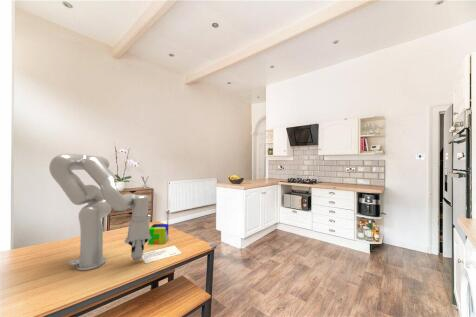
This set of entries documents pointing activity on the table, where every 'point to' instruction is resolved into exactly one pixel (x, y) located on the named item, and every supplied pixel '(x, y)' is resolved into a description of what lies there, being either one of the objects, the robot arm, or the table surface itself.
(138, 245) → the salt shaker
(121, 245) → the table surface
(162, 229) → the puzzle toy
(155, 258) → the letter
